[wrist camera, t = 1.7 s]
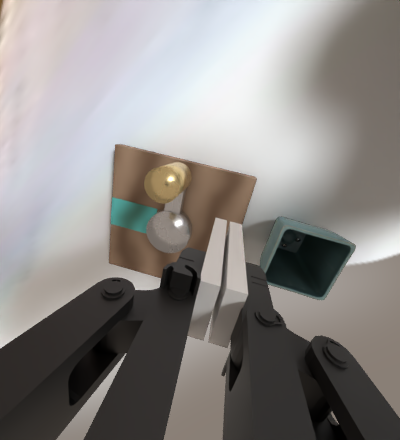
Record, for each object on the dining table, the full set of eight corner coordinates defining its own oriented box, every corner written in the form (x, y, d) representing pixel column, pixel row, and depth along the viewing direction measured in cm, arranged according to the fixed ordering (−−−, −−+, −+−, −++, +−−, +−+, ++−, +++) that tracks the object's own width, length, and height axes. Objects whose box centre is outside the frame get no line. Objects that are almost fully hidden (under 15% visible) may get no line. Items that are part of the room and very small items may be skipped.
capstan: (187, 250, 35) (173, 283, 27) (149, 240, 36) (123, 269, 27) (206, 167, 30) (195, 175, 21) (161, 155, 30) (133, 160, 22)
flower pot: (271, 203, 32) (284, 224, 24) (326, 219, 32) (359, 245, 23) (253, 250, 36) (258, 282, 27) (302, 264, 35) (323, 302, 27)
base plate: (255, 177, 31) (258, 180, 28) (220, 287, 39) (218, 301, 36) (122, 144, 33) (109, 144, 29) (114, 257, 41) (103, 267, 38)
